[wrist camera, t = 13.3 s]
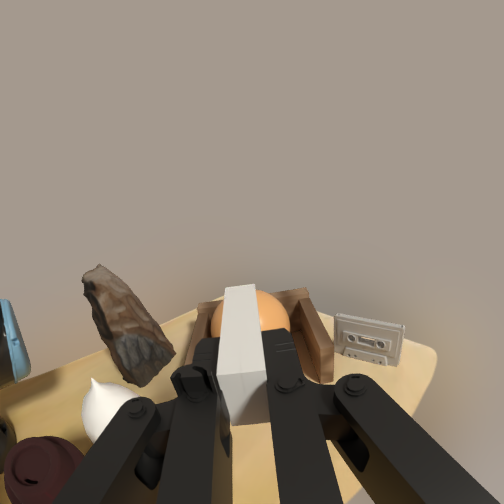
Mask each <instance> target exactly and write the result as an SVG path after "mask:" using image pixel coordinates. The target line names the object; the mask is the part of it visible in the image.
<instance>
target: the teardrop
mask: <svg viewBox="0 0 504 504" xmlns="http://www.w3.org/2000/svg"><path fill="white" fill-rule="evenodd" d="M135 397H141V396H139V395H138V394H136V393H135V392H133V391H131V390H130V389H128V388H126V387H124V386H121V385H118V384H114V383H111V382H108V383H99V382H97V381H95V380H94V379H93V378H91V388H90V390H89V392H88V393H87V394H86V395H85V396H84V399H83V405H82V413H81V416H82V420H83V424H84V428H85V431H86V434H87V435H88V437H89V438H90V440H91V441H92V442H93V444H94V443H95V441H96V440H97V439H98V437H99V436H100V434H101V433H102V432H103V430H104V429H105V428H106V426H107V425H108V423H109V422H110V421H111V419H112V418H113V417H114V415H115V414H116V412H117V411H118V410H119V408H120V407H121V406H122V405H123V404H124V403H125V402H126V401H128V400H130V399H131V398H135Z"/></svg>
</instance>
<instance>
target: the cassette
mask: <svg viewBox="0 0 504 504" xmlns="http://www.w3.org/2000/svg"><path fill="white" fill-rule="evenodd" d="M404 332H405V326H404V325H399V324H393V323H388V322H382V321H377V320H371V319H366V318H361V317H355V316H350V315H345V314H340V313H337V314H336V315H335V316H334V352H337V353H340V354H343V356H346V357H350V358H354V359H358V360H362V361H366V362H371V363H375V364H379V365H383V366H387V365H390V366H395V367H397V366H398V365H399V361H400V356H401V350H402V344H403V338H404ZM361 337H366V338H371V339H375V341H373V340H368V339H364V338H361Z"/></svg>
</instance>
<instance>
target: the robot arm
mask: <svg viewBox="0 0 504 504" xmlns="http://www.w3.org/2000/svg"><path fill="white" fill-rule="evenodd" d="M30 371H31V364H30V360H29V357H28V354H27V350H26V347H25V345H24V341H23V338H22V335H21V332H20V329H19V326H18V323H17V320H16V317H15V314H14V311H13V308H12V306H11V303H10V301H8V300H7V299H0V389H2V388H5V387H7V386H9V385H12V384H14V383H15V384H16V383H17V382H18V381H19V380H21V379H23V378H25V377H27V376H28V375H29V374H30ZM170 379H171V381H172V383H173V386H174V388H175V390H176V393H177V395H178V397H177V398H175V399H174V400H171V401H168V402H164V403H160V404H154V402H153V401H152V400H151V399H149V398H146V397H135V398H131V399H130V400H128V401H126V402H125V403H124V404H123V405H122V406H121V407H120V408H119V410H118V411H117V412H116V414H115V415H114V417H113V418H112V419H111V421H110V422H109V423H108V425H107V426H106V428H105V429H104V430H103V432H102V433H101V434H100V436H99V437H98V439H97V440H96V441H95V443H94V444H93V446H92V447H91V448H90V450H89V451H88V453H87V454H86V455H85V457H84V458H83V460H82V461H81V462H80V464H79V465H78V467H77V468H76V469H75V471H74V472H73V474H72V475H71V476H70V478H69V479H68V481H67V482H66V484H65V485H64V486H63V488H62V489H61V491H60V492H59V494H58V495H57V496H56V498H55V499H54V501H53V502H52V504H233V501H232V435H231V431H230V421H231V424H232V426H238V425H249V424H259V423H267V422H271V431H272V439H273V448H274V456H275V465H276V473H277V481H278V490H279V498H280V504H343V501H342V497H341V493H340V490H339V486H338V482H337V479H336V475H335V471H334V468H333V464H332V461H331V457H330V454H329V450H328V447H327V443H326V440H331V442H332V443H333V445H334V446H335V448H336V449H337V451H338V452H339V454H340V455H341V456H342V458H343V459H344V461H345V462H346V464H347V465H348V467H349V468H350V469H351V471H352V472H353V474H354V475H355V476H356V478H357V479H358V481H359V482H360V483H361V485H362V486H363V488H364V489H365V490H366V492H367V493H368V494H369V495H370V497H371V499H372V500H373V501H374V503H375V504H500V503H499V502H498V501H497V500H496V499H495V498H494V497H493V496H492V495H491V494H490V493H489V492H488V491H487V490H485V489H484V488H483V487H482V486H481V485H480V484H479V483H478V482H477V481H476V480H475V479H474V478H473V477H472V476H471V475H470V474H469V473H468V472H467V471H466V470H465V469H464V468H463V467H462V466H461V465H460V464H459V463H458V462H457V461H455V460H454V459H453V458H452V457H451V456H450V455H449V454H448V453H447V452H446V451H445V450H444V449H443V448H442V447H441V446H440V445H439V444H438V443H437V442H436V441H435V440H434V439H433V438H432V437H431V436H430V435H429V434H428V433H427V432H426V431H425V430H424V429H423V428H422V427H421V426H420V425H419V424H418V423H416V422H415V421H414V420H413V419H412V418H411V417H410V416H409V415H408V414H407V413H406V412H405V411H404V410H403V409H402V408H401V407H400V406H399V405H398V404H397V403H396V402H395V401H394V400H393V399H392V398H391V397H390V396H389V395H388V394H387V393H386V392H385V391H384V390H383V389H382V388H381V387H380V386H379V385H378V384H377V383H376V382H375V381H374V380H373V379H371V378H370V377H368V376H366V375H363V374H349V375H346V376H343V377H342V378H340V379H339V380H338V381H337V382H336V384H335V385H324V384H317V383H314V382H312V381H310V380H308V379H307V378H306V377H305V376H304V374H303V372H302V368H301V365H300V361H299V358H298V355H297V351H296V348H295V345H294V341H293V338H292V334H291V333H290V332H289V331H288V330H286V329H285V328H279V329H272V330H265V331H261V326H260V319H259V311H258V304H257V297H256V290H255V284H250V285H243V286H235V287H227V288H225V296H224V305H223V315H222V324H221V333H220V337H213V338H202V339H201V340H200V341H199V342H198V344H197V345H196V346H195V350H194V355H193V359H192V364H188V365H184V366H182V367H180V368H178V369H177V370H176V371H174V372H173V374H172V375H171V377H170ZM15 444H16V437H15V433H14V431H13V430H12V428H11V427H10V426H9V425H8V423H7V422H6V421H5V420H4V419H3V418H2V417H1V416H0V474H1V473H2V472H3V471H4V463H5V459H6V457H7V455H8V453H9V451H10V450H11V448H12V447H13V446H14V445H15Z"/></svg>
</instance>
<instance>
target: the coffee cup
mask: <svg viewBox="0 0 504 504" xmlns="http://www.w3.org/2000/svg"><path fill="white" fill-rule="evenodd" d="M84 457H85V456H84V455H83V454H82V453H81V452H80V451H79V450H78V449H77V448H76V447H75V446H74V445H73V444H72V443H70V442H69V441H67V440H65V439H62V438H59V437H54V436H43V437H31V438H26V439H24V440H22V441H20V442H18V443H17V444H15V445H14V446H13V447H12V448H11V450H10V451H9V453H8V455H7V457H6V459H5V463H4V474H5V475H4V482H5V489H6V492H7V495H8V497H9V499H10V501H11V502H12V504H52V502H53V501H54V499H55V498H56V496H57V495H58V494H59V492H60V491H61V489H62V488H63V486H64V485H65V484H66V482H67V481H68V479H69V478H70V476H71V475H72V474H73V472H74V471H75V469H76V468H77V467H78V465H79V464H80V462H81V461H82V460H83V458H84Z"/></svg>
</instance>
